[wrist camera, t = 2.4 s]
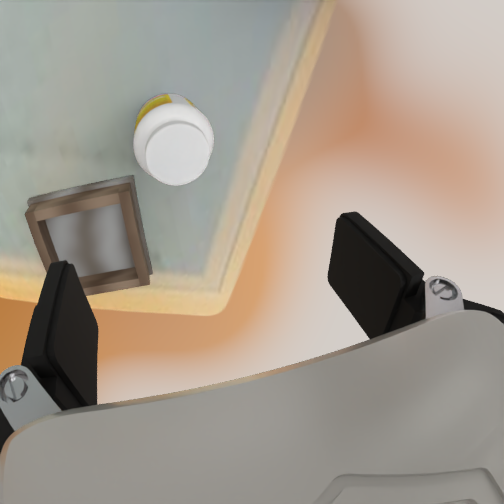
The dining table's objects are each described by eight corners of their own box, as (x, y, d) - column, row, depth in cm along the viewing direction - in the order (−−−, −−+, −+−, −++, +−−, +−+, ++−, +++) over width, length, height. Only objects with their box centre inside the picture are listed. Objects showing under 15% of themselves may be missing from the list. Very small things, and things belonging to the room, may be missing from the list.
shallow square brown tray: (133, 175, 34) (132, 186, 31) (152, 269, 41) (153, 286, 38) (29, 198, 30) (20, 211, 28) (61, 286, 38) (57, 303, 35)
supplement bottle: (129, 144, 32) (120, 188, 22) (146, 86, 29) (145, 99, 19) (186, 157, 35) (206, 206, 24) (206, 102, 32) (236, 124, 22)
